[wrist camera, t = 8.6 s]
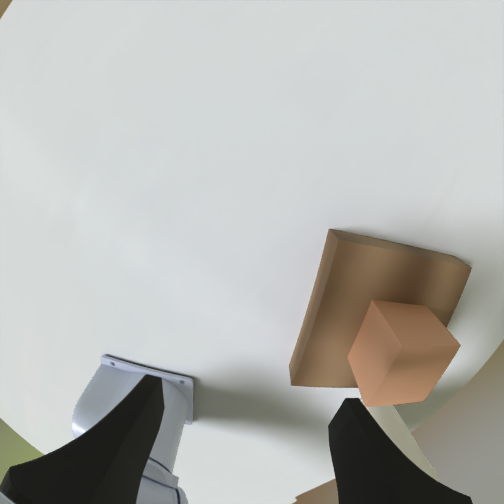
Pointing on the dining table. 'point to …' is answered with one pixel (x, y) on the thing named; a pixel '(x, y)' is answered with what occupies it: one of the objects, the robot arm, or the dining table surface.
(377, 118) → the dining table surface
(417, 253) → the walnut plinth
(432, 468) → the foam cup
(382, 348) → the terracotta block
